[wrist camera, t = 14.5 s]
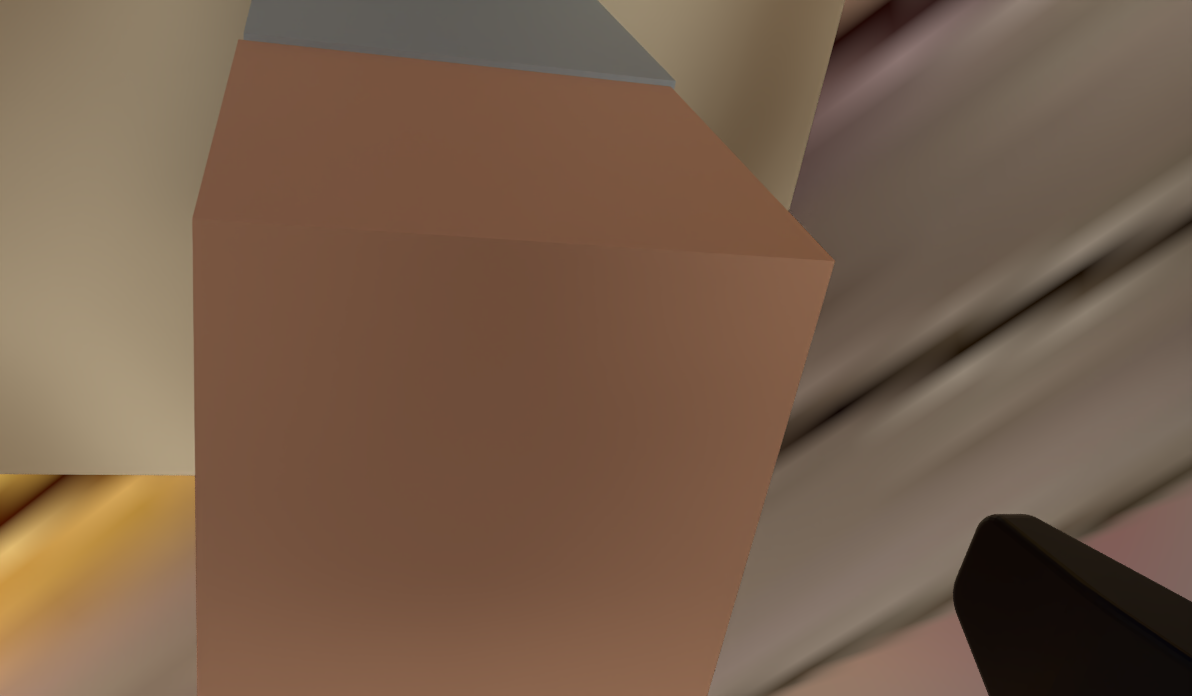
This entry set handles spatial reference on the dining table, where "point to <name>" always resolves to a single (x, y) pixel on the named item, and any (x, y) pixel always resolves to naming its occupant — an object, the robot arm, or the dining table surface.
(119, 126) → the birch base
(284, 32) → the gray block
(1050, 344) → the dining table surface
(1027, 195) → the dining table surface
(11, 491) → the dining table surface
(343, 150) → the terracotta block
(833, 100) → the dining table surface
